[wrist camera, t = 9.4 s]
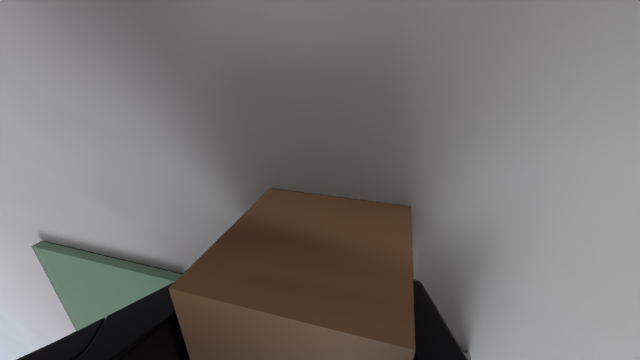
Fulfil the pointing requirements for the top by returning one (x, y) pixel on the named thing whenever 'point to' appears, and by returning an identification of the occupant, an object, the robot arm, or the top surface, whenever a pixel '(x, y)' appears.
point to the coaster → (97, 281)
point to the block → (303, 283)
